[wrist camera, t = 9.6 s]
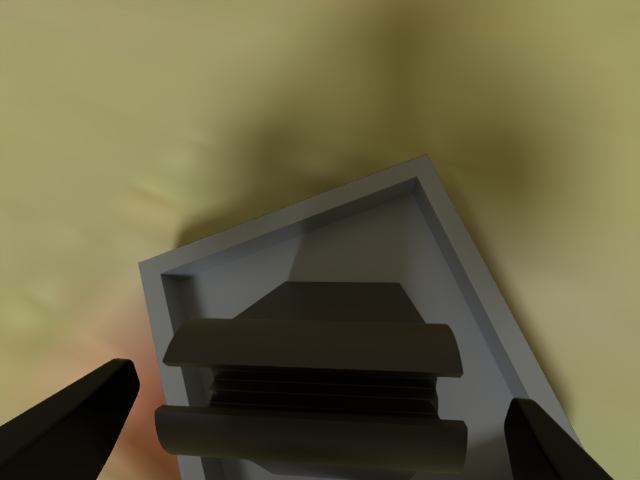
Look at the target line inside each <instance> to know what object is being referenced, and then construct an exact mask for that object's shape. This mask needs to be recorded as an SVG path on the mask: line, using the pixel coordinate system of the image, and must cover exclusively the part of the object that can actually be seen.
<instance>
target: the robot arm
mask: <svg viewBox="0 0 640 480" xmlns="http://www.w3.org/2000/svg"><path fill="white" fill-rule="evenodd" d="M139 388H140V382H139V379H138V376H137V372H136V369H135V366H134V363H133V362H132V361H131V360H129V359H120V358H116V359H113V360H111V361H109V362H107V363H106V364H104V365H102V366H101V367H99V368H97V369H96V370H94V371H92V372H91V373H89V374H87V375H86V376H84V377H82V378H81V379H79V380H77V381H76V382H74V383H72V384H71V385H69V386H67V387H66V388H64V389H62V390H60V391H59V392H57V393H55V394H54V395H52V396H50V397H49V398H47V399H45V400H44V401H42V402H40V403H39V404H37V405H35V406H34V407H32V408H30V409H29V410H27V411H25V412H24V413H22V414H20V415H19V416H17V417H15V418H14V419H12V420H10V421H9V422H7V423H5V424H4V425H2V426H0V480H96V479H97V477H98V475H99V474H100V472H101V470H102V468H103V467H104V465H105V463H106V461H107V459H108V457H109V456H110V454H111V452H112V450H113V448H114V445H115V443H116V441H117V439H118V437H119V435H120V432H121V430H122V428H123V426H124V423H125V421H126V419H127V417H128V415H129V412H130V410H131V408H132V406H133V403H134V401H135V399H136V397H137V395H138V392H139ZM504 434H505V439H506V444H507V449H508V454H509V459H510V465H511V470H512V475H513V480H614V479H613V478H612V477H611V476H610V475H609V474H608V473H607V472H606V471H605V470H604V469H603V468H602V467H601V466H600V465H599V464H598V463H597V462H596V461H595V460H594V459H593V458H592V457H591V456H590V455H589V454H588V453H587V452H586V451H585V450H584V449H583V448H582V447H581V446H580V445H579V444H578V443H577V442H576V441H575V440H574V439H573V438H572V437H571V436H570V435H569V434H568V433H567V432H566V431H565V430H564V429H563V428H562V427H561V426H560V425H559V424H558V423H557V422H556V421H555V420H554V419H553V418H552V417H551V416H550V415H549V414H548V413H547V412H546V411H545V410H544V409H543V408H542V407H541V406H540V405H539V404H538V403H537V402H535V401H534V400H532V399H527V398H517V397H516V398H513V399H512V400H511V402H510V405H509V408H508V411H507V415H506V418H505V421H504Z"/></svg>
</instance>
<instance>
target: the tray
mask: <svg viewBox="0 0 640 480" xmlns="http://www.w3.org/2000/svg"><path fill="white" fill-rule="evenodd" d="M138 264H139V269H140V274H141V279H142V284H143V289H144V294H145V299H146V304H147V309H148V314H149V319H150V324H151V329H152V334H153V339H154V344H155V349H156V354H157V359H158V364H159V369H160V374H161V379H162V384H163V389H164V394H165V399H166V404H167V405H175V406H194V407H206V406H207V405H208V404H209V403H210V399H209V388H210V386H211V384H212V382H213V380H214V377H213V374H212V372H211V368H198V367H173V366H167V365H166V364H164V363H163V362H162V361H163V358H164V355H165V353H166V350H167V348H168V345H169V343H170V341H171V340H172V338H173V336H174V334H175V333H176V331H177V330H178V329H179V328H180V326H181V325H182V324H183V323H185V322H186V321H187V320H189V319H192V318H223V319H233V318H234V317H236V316H237V315H238V314H240V313H241V312H243V311H244V310H245V309H247V308H248V307H250V306H251V305H253V304H254V303H255V302H257V301H258V300H260V299H261V298H262V297H264V296H265V295H267V294H268V293H269V292H271V291H272V290H274V289H275V288H276V287H278V286H279V285H281V284H282V283H284V282H285V281H302V282H388V283H400V284H401V286H402V287H403V289H404V290H405V292H406V293H407V295H408V296H409V298H410V299H411V301H412V303H413V304H414V306H415V307H416V309H417V310H418V312H419V313H420V315H421V316H422V318H423V319H424V321H425V322H426V323H436V324H447V325H449V327H450V328H451V330H452V331H453V334H454V336H455V339H456V342H457V345H458V349H459V353H460V357H461V362H462V367H463V373H464V374H463V375H462V376H461V378H453V377H437V384H436V392H437V396H438V400H439V402H438V415H439V417H440V419H445V420H464V422H465V424H466V426H467V427H468V441H467V453H466V459H465V464H464V467H463V469H462V471H461V473H459V474H452V473H437V472H423V471H418V472H417V473H416V474H415V475H414V476H413V477H412V478H411V479H410V480H513V475H512V470H511V465H510V459H509V454H508V449H507V444H506V439H505V434H504V421H505V418H506V415H507V411H508V408H509V405H510V402H511V400H512V399H513V398H516V397H517V398H527V399H532V400H534V401H535V402H537V403H538V404H539V405H540V406H541V407H542V408H543V409H544V410H545V411H546V412H547V413H548V414H549V415H550V416H551V417H552V418H553V419H554V420H555V421H556V422H557V423H558V424H559V425H560V426H561V427H562V428H563V429H564V430H565V431H566V432H567V433H568V434H569V435H570V436H571V437H572V438H573V439H574V440H575V441H576V442H577V443H578V444H579V445H580V446H581V447H582V448H583V446H582V445H581V443H580V441H579V439H578V437H577V435H576V433H575V431H574V430H573V428H572V426H571V424H570V422H569V420H568V418H567V416H566V415H565V413H564V411H563V409H562V407H561V405H560V403H559V401H558V399H557V398H556V396H555V394H554V392H553V390H552V388H551V386H550V384H549V383H548V381H547V379H546V377H545V375H544V373H543V371H542V369H541V368H540V366H539V364H538V362H537V360H536V358H535V356H534V354H533V352H532V351H531V349H530V347H529V345H528V343H527V341H526V339H525V337H524V336H523V334H522V332H521V330H520V328H519V326H518V324H517V322H516V321H515V319H514V317H513V315H512V313H511V311H510V309H509V307H508V305H507V304H506V302H505V300H504V298H503V296H502V294H501V292H500V290H499V289H498V287H497V285H496V283H495V281H494V279H493V277H492V275H491V274H490V272H489V270H488V268H487V266H486V264H485V262H484V260H483V258H482V257H481V255H480V253H479V251H478V249H477V247H476V245H475V243H474V242H473V240H472V238H471V236H470V234H469V232H468V230H467V228H466V227H465V225H464V223H463V221H462V219H461V217H460V215H459V213H458V211H457V210H456V208H455V206H454V204H453V202H452V200H451V198H450V196H449V195H448V193H447V191H446V189H445V187H444V185H443V183H442V181H441V180H440V178H439V176H438V174H437V172H436V170H435V168H434V166H433V164H432V163H431V161H430V159H429V157H428V155H427V154H424V155H422V156H419V157H416V158H414V159H411V160H409V161H406V162H403V163H401V164H398V165H395V166H393V167H390V168H387V169H385V170H382V171H380V172H377V173H374V174H372V175H369V176H366V177H364V178H361V179H358V180H356V181H353V182H350V183H348V184H345V185H343V186H340V187H337V188H335V189H332V190H329V191H327V192H324V193H321V194H319V195H316V196H314V197H311V198H308V199H306V200H303V201H300V202H298V203H295V204H292V205H290V206H287V207H285V208H282V209H279V210H277V211H274V212H271V213H269V214H266V215H263V216H261V217H258V218H255V219H253V220H250V221H248V222H245V223H242V224H240V225H237V226H234V227H232V228H229V229H226V230H224V231H221V232H219V233H216V234H213V235H211V236H208V237H205V238H203V239H200V240H197V241H195V242H192V243H189V244H187V245H184V246H182V247H179V248H176V249H174V250H171V251H168V252H166V253H163V254H160V255H158V256H155V257H153V258H150V259H147V260H145V261H142V262H139V263H138ZM583 449H584V448H583ZM177 459H178V464H179V469H180V474H181V479H182V480H345V479H331V478H317V477H303V476H289V475H275V474H272V473H270V472H268V471H267V470H265V469H263V468H262V467H260V466H258V465H257V464H255V463H254V462H252V461H250V460H245V459H230V458H215V457H201V456H186V455H177Z"/></svg>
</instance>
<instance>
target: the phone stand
mask: <svg viewBox="0 0 640 480" xmlns="http://www.w3.org/2000/svg"><path fill="white" fill-rule="evenodd" d="M162 362H163V363H164V364H166V365H167V366H173V367H198V368H211V372H212V374H213V377H214V380H213V382H212V384H211V386H210V388H209V399H210V403H209V404H208V405H207V406H206V407H194V406H175V405H162V406H160V407H159V408H158V409H157V410H155V425H156V431H157V435H158V439H159V441H160V444H161V446H162V447H163V449H164V450H165V451H166V452H167V453H169V454H172V455H186V456H201V457H215V458H230V459H245V460H250V461H252V462H254V463H255V464H257V465H258V466H260V467H262V468H263V469H265V470H267V471H268V472H270V473H272V474H275V475H289V476H303V477H317V478H331V479H345V480H410V479H411V478H412V477H413V476H414V475H415V474H416V473H417V472H418V471H423V472H437V473H452V474H459V473H461V471H462V469H463V467H464V464H465V459H466V453H467V441H468V427H467V426H466V424H465V422H464V420H445V419H440V417H439V415H438V402H439V400H438V396H437V392H436V384H437V377H453V378H461V376H462V375H463V374H464V373H463V367H462V362H461V357H460V353H459V349H458V345H457V342H456V339H455V336H454V334H453V331H452V330H451V328H450V327H449V325H447V324H436V323H426V322H425V321H424V319H423V318H422V316H421V315H420V313H419V312H418V310H417V309H416V307H415V306H414V304H413V303H412V301H411V299H410V298H409V296H408V295H407V293H406V292H405V290H404V289H403V287H402V286H401V284H400V283H388V282H302V281H285V282H284V283H282V284H281V285H279V286H278V287H276V288H275V289H274V290H272V291H271V292H269V293H268V294H267V295H265V296H264V297H262V298H261V299H260V300H258V301H257V302H255V303H254V304H253V305H251V306H250V307H248V308H247V309H245V310H244V311H243V312H241V313H240V314H238V315H237V316H236V317H234V318H233V319H223V318H192V319H189V320H187V321H186V322H185V323H183V324H182V325H181V326H180V328H179V329H178V330H177V331H176V333H175V334H174V336H173V338H172V340H171V341H170V343H169V345H168V348H167V350H166V353H165V355H164V358H163V361H162Z"/></svg>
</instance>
